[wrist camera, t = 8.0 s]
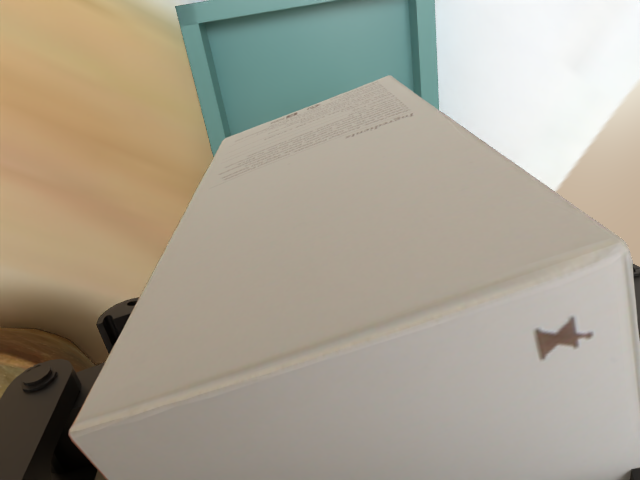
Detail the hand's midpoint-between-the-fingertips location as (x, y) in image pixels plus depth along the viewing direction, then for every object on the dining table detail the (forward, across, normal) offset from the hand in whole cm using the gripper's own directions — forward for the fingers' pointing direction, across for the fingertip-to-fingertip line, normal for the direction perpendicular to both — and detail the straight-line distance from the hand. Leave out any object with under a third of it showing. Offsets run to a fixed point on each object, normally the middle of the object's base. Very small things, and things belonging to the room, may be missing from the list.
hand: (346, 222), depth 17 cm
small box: (+2, 0, 0) cm, 2 cm away
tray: (+16, 0, 0) cm, 16 cm away
